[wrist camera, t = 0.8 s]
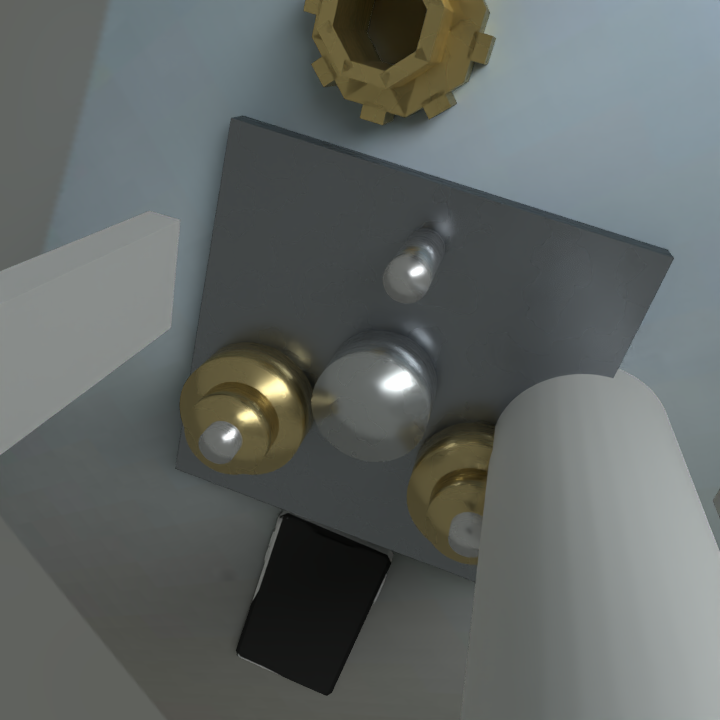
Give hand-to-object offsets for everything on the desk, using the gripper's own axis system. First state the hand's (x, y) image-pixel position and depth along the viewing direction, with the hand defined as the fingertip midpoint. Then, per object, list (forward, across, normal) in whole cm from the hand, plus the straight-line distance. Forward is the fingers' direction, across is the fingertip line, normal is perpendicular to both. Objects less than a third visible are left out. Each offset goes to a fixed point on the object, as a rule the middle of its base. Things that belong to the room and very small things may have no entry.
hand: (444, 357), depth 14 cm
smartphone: (+20, -4, -31) cm, 37 cm away
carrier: (+20, -3, -11) cm, 23 cm away
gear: (+20, -6, +6) cm, 22 cm away
